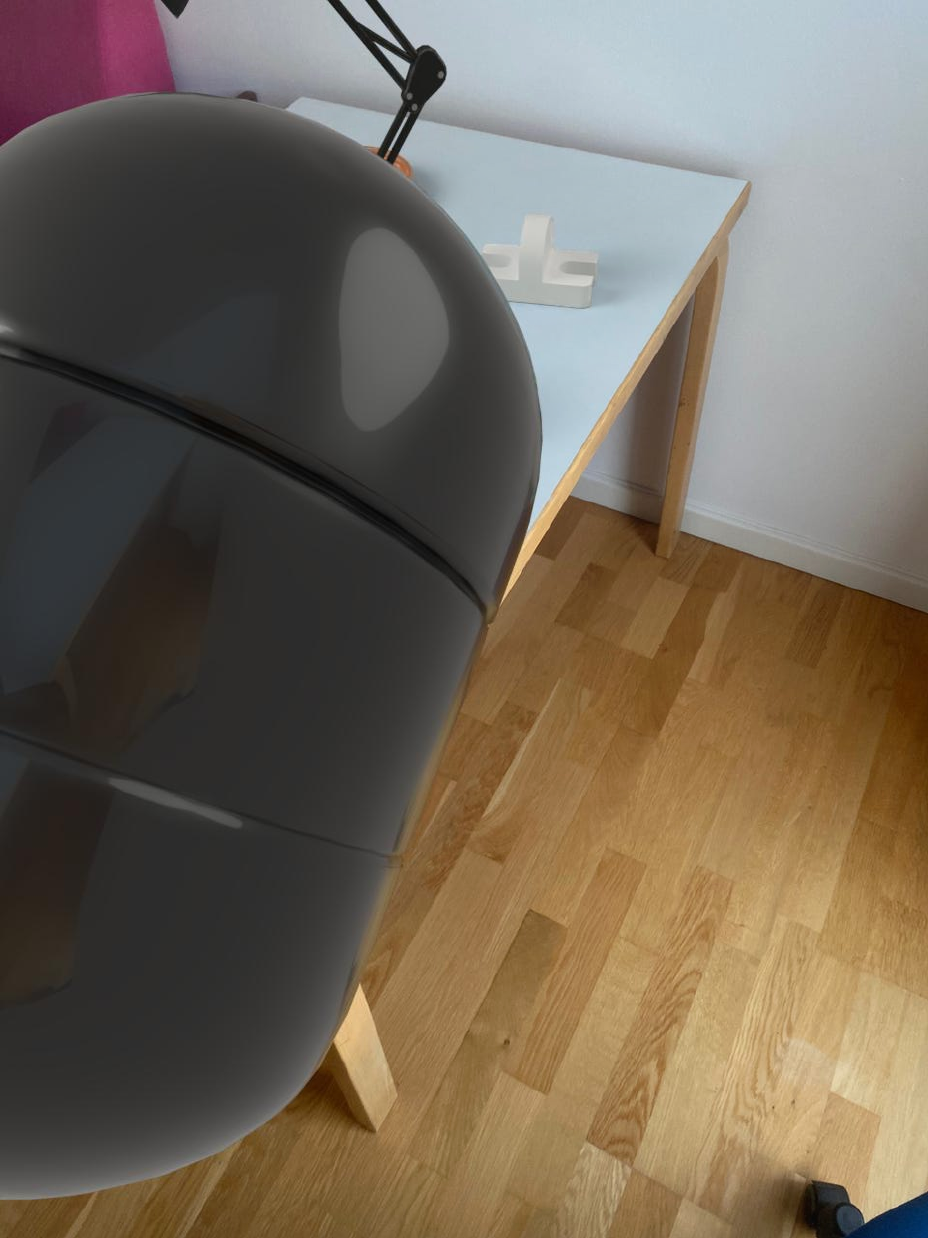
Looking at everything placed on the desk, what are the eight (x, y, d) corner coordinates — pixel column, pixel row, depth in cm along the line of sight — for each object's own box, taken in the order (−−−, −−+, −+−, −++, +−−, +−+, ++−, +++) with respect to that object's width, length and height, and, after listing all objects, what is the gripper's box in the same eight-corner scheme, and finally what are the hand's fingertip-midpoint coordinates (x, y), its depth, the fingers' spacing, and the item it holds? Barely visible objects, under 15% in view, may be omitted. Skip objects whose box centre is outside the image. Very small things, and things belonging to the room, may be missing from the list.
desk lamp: (155, 361, 94) (-60, -212, 59) (273, 237, 109) (157, -283, 73) (363, 407, 88) (264, -201, 53) (459, 270, 103) (431, -281, 67)
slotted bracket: (472, 297, 99) (469, 230, 93) (485, 263, 103) (484, 197, 97) (588, 308, 97) (594, 240, 91) (597, 273, 101) (603, 206, 95)
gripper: (300, 443, 27) (260, 542, 43) (-149, 730, 23) (-13, 725, 38) (443, 641, 28) (353, 668, 43) (32, 956, 24) (94, 862, 39)
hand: (181, 695), depth 41 cm, fingers open, 8 cm apart
